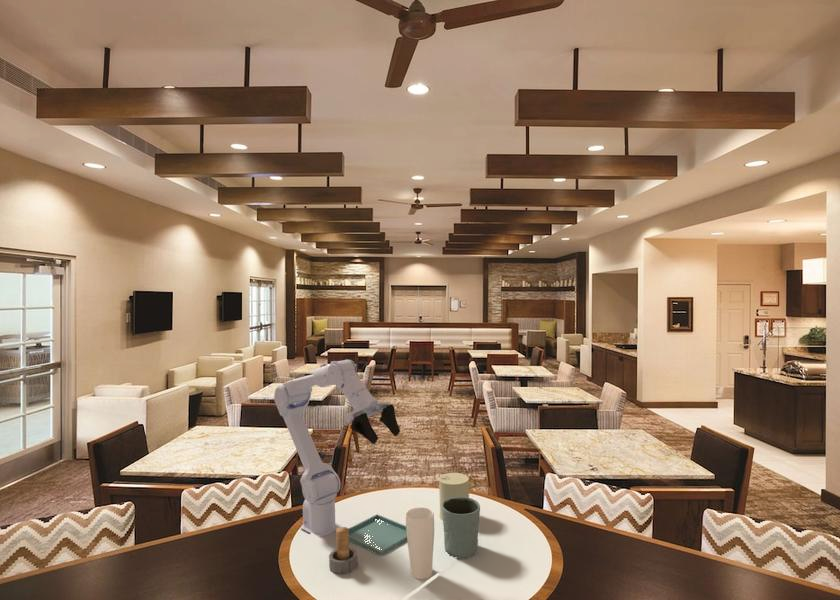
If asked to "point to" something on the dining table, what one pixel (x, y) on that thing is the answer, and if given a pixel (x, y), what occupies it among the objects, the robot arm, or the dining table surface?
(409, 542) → the drinking glass
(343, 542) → the pin
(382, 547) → the tray
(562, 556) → the dining table surface
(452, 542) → the green cup
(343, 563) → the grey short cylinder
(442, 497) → the can
